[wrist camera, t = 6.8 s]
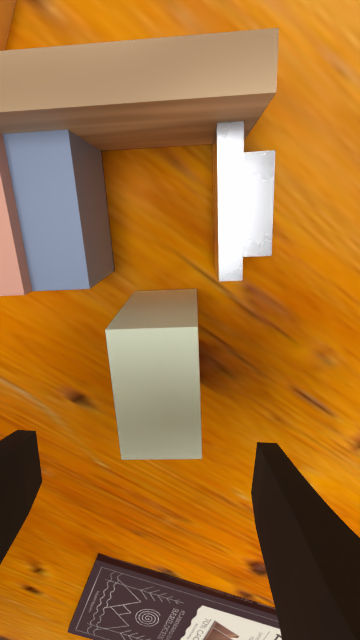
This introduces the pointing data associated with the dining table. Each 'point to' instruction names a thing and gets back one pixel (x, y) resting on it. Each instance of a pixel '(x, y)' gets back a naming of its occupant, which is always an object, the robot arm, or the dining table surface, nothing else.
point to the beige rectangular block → (157, 375)
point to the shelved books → (52, 213)
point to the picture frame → (5, 20)
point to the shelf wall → (141, 88)
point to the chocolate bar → (164, 608)
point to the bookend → (240, 201)
